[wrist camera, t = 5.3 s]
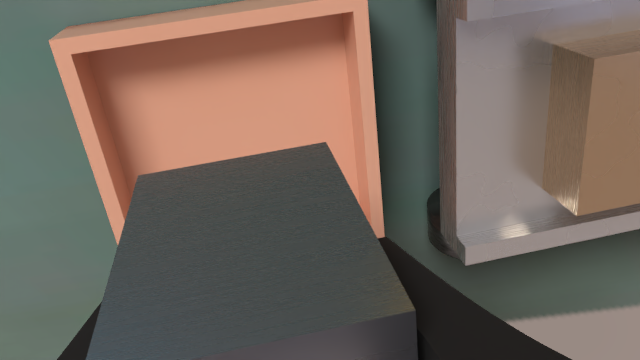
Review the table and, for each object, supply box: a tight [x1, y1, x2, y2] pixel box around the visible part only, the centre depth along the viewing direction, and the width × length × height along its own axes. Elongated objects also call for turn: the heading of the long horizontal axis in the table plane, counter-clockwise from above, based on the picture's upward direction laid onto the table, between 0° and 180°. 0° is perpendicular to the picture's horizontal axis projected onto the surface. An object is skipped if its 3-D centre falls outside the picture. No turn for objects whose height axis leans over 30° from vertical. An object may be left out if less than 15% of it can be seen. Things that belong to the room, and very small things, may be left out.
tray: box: [49, 0, 385, 244], centre depth 16 cm, size 8×8×2 cm
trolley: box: [427, 0, 640, 266], centre depth 16 cm, size 12×10×6 cm
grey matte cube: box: [86, 142, 418, 360], centre depth 9 cm, size 4×4×5 cm
